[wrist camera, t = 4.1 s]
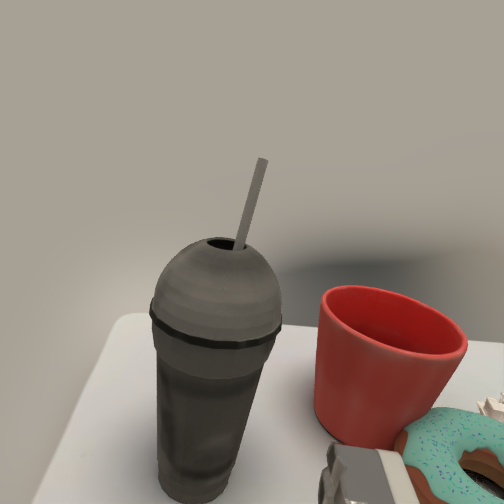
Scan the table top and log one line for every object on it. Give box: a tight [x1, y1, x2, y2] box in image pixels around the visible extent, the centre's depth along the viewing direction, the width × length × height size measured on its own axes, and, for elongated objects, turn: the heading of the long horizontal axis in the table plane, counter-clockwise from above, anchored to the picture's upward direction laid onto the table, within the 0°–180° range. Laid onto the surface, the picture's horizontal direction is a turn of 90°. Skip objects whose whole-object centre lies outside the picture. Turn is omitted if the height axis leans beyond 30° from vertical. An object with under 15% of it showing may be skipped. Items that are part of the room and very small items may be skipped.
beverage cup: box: [149, 158, 282, 504], centre depth 22 cm, size 7×7×20 cm
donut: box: [394, 407, 504, 504], centre depth 25 cm, size 12×12×4 cm
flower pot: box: [314, 286, 468, 451], centre depth 31 cm, size 11×11×10 cm
